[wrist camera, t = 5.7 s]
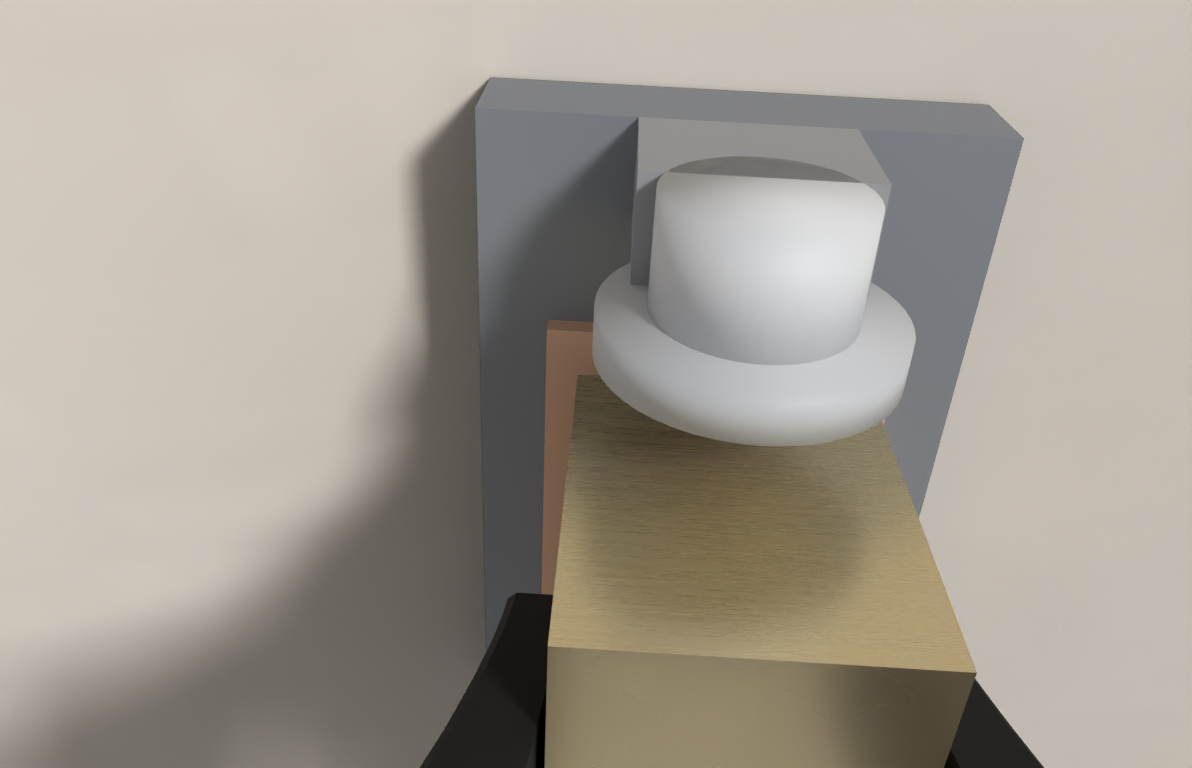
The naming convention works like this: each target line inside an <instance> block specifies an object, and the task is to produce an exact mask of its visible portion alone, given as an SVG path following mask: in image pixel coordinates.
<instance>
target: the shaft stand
mask: <svg viewBox="0 0 1192 768" xmlns="http://www.w3.org/2000/svg"><path fill="white" fill-rule="evenodd" d="M475 138H476V186H477V234H478V282H479V330H480V378H481V425H482V473H483V521H484V569H485V617H486V652H487V650H488V647H489V645H490V643H491V641H492V639H493V637H494V634H495V632H496V629H497V627H498V624H499V622H500V620H501V617H502V614H503V611H504V608H505V605H506V602H507V599H508V598H509V597H511V596H512V595H514V594H515V593H533V594H549V595H553V594H554V585H555V576H556V567H557V558H558V549H559V540H560V530H561V521H562V512H563V503H564V494H565V485H566V476H567V467H568V458H569V449H570V440H571V431H572V422H573V413H574V404H575V395H576V386H577V377H578V374H581V375H598V376H600V377H601V379H602V380H603V381H604V382H605V384H606V385H607V386H608V387H609V388H610V390H611V391H612V392H614V393H615V394H616V395H617V396H618V397H619V398H620V399H621V400H623V401H624V402H626V403H627V404H628V405H630V406H631V407H633V408H634V409H636V410H637V411H639V412H641V413H643V414H645V415H647V416H648V417H650V418H652V419H654V420H656V421H659V422H661V423H663V424H666V425H668V426H670V427H673V428H676V429H679V430H682V431H685V432H688V433H691V434H694V435H698V436H702V437H706V438H710V439H714V440H720V441H725V442H731V443H737V444H746V445H757V446H784V447H785V446H803V445H812V444H819V443H826V442H831V441H835V440H839V439H843V438H847V437H850V436H853V435H856V434H858V433H861V432H864V431H866V430H867V429H869V428H871V427H873V426H875V425H877V424H878V423H880V422H881V421H882V422H883V425H884V428H885V430H886V433H887V436H888V438H889V441H890V444H891V446H892V449H893V452H894V454H895V457H896V460H897V462H898V465H899V468H900V470H901V473H902V476H903V478H904V481H905V484H906V486H907V489H908V492H909V494H910V497H911V500H912V502H913V505H914V508H915V510H916V513H917V515H918V518H919V515H920V512H921V508H922V504H923V501H924V497H925V494H926V490H927V486H928V483H929V479H930V476H931V472H932V468H933V465H934V461H935V458H936V454H937V450H938V447H939V443H940V439H941V436H942V432H943V429H944V425H945V421H946V418H947V414H948V411H949V407H950V403H951V400H952V396H953V392H954V389H955V385H956V382H957V378H958V374H959V371H960V367H961V364H962V360H963V356H964V353H965V349H966V345H967V342H968V338H969V335H970V331H971V327H972V324H973V320H974V317H975V313H976V309H977V306H978V302H979V299H980V295H981V291H982V288H983V284H984V280H985V277H986V273H987V270H988V266H989V262H990V259H991V255H992V252H993V248H994V244H995V241H996V237H997V233H998V230H999V226H1000V223H1001V219H1002V215H1003V212H1004V208H1005V205H1006V201H1007V197H1008V194H1009V190H1010V186H1011V183H1012V179H1013V176H1014V172H1015V168H1016V165H1017V161H1018V158H1019V154H1020V150H1021V147H1022V143H1023V139H1024V138H1023V137H1022V136H1021V135H1020V134H1019V133H1018V132H1017V131H1016V130H1014V129H1013V128H1012V127H1011V126H1010V125H1009V124H1008V123H1007V122H1006V121H1005V120H1004V119H1003V118H1002V117H1001V116H1000V115H999V114H998V113H997V112H996V111H995V110H994V109H993V108H992V107H991V106H990V105H983V104H965V103H947V102H929V101H910V100H892V99H874V98H856V97H838V96H820V95H802V94H784V93H766V92H748V91H729V90H711V89H693V88H675V87H657V86H639V85H621V84H603V83H585V82H566V81H548V80H530V79H512V78H494V77H490V79H489V81H488V83H487V85H486V87H485V89H484V91H483V93H482V95H481V97H480V99H479V101H478V103H477V105H476V107H475Z"/></svg>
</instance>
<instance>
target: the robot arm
mask: <svg viewBox="0 0 1192 768" xmlns="http://www.w3.org/2000/svg"><path fill="white" fill-rule="evenodd" d="M552 603H553V595H549V594H533V593H515V594H514V595H512V596H511V597H509V598H508V599H507V602H506V605H505V608H504V611H503V614H502V617H501V620H500V622H499V624H498V627H497V629H496V632H495V634H494V637H493V639H492V641H491V643H490V645H489V647H488V650H487V652H486V654H485V656H484V658H483V660H482V662H481V664H480V666H479V668H478V670H477V672H476V674H475V676H474V678H473V680H472V681H471V683H470V685H469V687H468V689H467V690H466V692H465V694H464V696H463V697H462V699H461V701H460V703H459V705H458V706H457V708H456V710H455V712H454V714H453V715H452V717H451V719H450V721H449V722H448V724H447V726H446V727H445V729H444V731H443V732H442V734H441V736H440V737H439V739H438V740H437V742H436V743H435V745H434V746H433V748H432V750H431V751H430V753H429V754H428V756H427V757H426V759H425V760H424V762H423V764H422V765H421V767H420V768H545V730H546V692H547V653H548V639H549V630H550V621H551V612H552ZM944 768H1044V767H1043V766H1042V765H1041V763H1040V762H1039V761H1038V760H1037V758H1036V757H1035V756H1034V755H1033V753H1032V752H1031V751H1030V750H1029V748H1028V747H1027V746H1026V744H1025V743H1024V742H1023V741H1022V739H1021V738H1020V737H1019V736H1018V734H1017V733H1016V732H1015V731H1014V729H1013V728H1012V727H1011V726H1010V724H1009V723H1008V722H1007V720H1006V719H1005V718H1004V717H1003V715H1002V714H1001V713H1000V711H999V710H998V709H997V707H996V706H995V705H994V703H993V702H992V701H991V699H990V698H989V697H988V695H987V694H986V693H985V691H984V690H983V689H982V687H981V686H980V685H979V683H978V682H977V680H976V679H974V682H973V685H972V688H971V691H970V694H969V697H968V699H967V702H966V705H965V708H964V711H963V714H962V717H961V720H960V723H959V725H958V728H957V731H956V734H955V737H954V740H953V743H952V746H951V749H950V751H949V754H948V757H947V760H946V763H945V766H944Z"/></svg>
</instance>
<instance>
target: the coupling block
mask: <svg viewBox="0 0 1192 768" xmlns="http://www.w3.org/2000/svg"><path fill="white" fill-rule="evenodd" d="M976 674H977V672H976V670H975V667H974V664H973V662H972V659H971V656H970V654H969V651H968V648H967V646H966V643H965V640H964V638H963V635H962V632H961V630H960V627H959V624H958V622H957V619H956V616H955V614H954V611H953V608H952V606H951V603H950V601H949V598H948V595H947V593H946V590H945V587H944V585H943V582H942V579H941V577H940V574H939V571H938V569H937V566H936V563H935V561H934V558H933V555H932V553H931V550H930V547H929V545H928V542H927V539H926V537H925V534H924V531H923V529H922V526H921V523H920V521H919V518H918V515H917V513H916V510H915V508H914V505H913V502H912V500H911V497H910V494H909V492H908V489H907V486H906V484H905V481H904V478H903V476H902V473H901V470H900V468H899V465H898V462H897V460H896V457H895V454H894V452H893V449H892V446H891V444H890V441H889V438H888V436H887V433H886V430H885V428H884V425H883V422H882V421H881V422H880V423H878V424H877V425H875V426H873V427H871V428H869V429H867V430H866V431H864V432H861V433H858V434H856V435H853V436H850V437H847V438H843V439H839V440H835V441H831V442H826V443H819V444H812V445H803V446H785V447H784V446H757V445H746V444H737V443H731V442H725V441H720V440H714V439H710V438H706V437H702V436H698V435H694V434H691V433H688V432H685V431H682V430H679V429H676V428H673V427H670V426H668V425H666V424H663V423H661V422H659V421H656V420H654V419H652V418H650V417H648V416H647V415H645V414H643V413H641V412H639V411H637V410H636V409H634V408H633V407H631V406H630V405H628V404H627V403H626V402H624V401H623V400H621V399H620V398H619V397H618V396H617V395H616V394H615V393H614V392H612V391H611V390H610V388H609V387H608V386H607V385H606V384H605V382H604V381H603V380H602V379H601V377H600V376H598V375H581V374H578V377H577V386H576V395H575V404H574V413H573V422H572V431H571V440H570V449H569V458H568V467H567V476H566V485H565V494H564V503H563V512H562V521H561V530H560V540H559V549H558V558H557V567H556V576H555V585H554V594H553V603H552V612H551V621H550V630H549V639H548V653H547V692H546V730H545V768H944V766H945V763H946V760H947V757H948V754H949V751H950V749H951V746H952V743H953V740H954V737H955V734H956V731H957V728H958V725H959V723H960V720H961V717H962V714H963V711H964V708H965V705H966V702H967V699H968V697H969V694H970V691H971V688H972V685H973V682H974V679H975V676H976Z"/></svg>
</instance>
